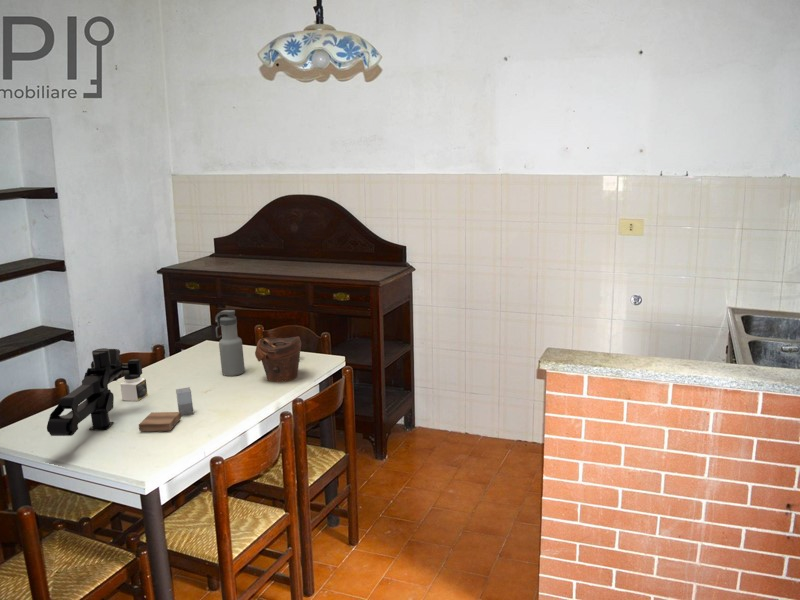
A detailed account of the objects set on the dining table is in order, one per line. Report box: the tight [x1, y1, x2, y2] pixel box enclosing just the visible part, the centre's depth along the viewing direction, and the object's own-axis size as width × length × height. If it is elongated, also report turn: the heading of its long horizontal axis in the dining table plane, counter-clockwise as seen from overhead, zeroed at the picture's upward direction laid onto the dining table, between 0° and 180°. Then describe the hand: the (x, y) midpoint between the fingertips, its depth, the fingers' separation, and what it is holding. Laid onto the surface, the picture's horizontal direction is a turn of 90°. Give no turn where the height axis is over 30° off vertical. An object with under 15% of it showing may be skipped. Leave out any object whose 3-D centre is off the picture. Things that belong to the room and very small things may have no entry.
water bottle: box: [214, 309, 245, 377], centre depth 307 cm, size 10×10×28 cm
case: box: [254, 336, 302, 383], centre depth 300 cm, size 18×20×18 cm
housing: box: [175, 386, 194, 417], centre depth 266 cm, size 5×5×9 cm
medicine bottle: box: [119, 370, 148, 402], centre depth 284 cm, size 7×7×12 cm
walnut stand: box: [138, 411, 182, 432], centre depth 255 cm, size 11×11×3 cm
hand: (126, 361), depth 278 cm, fingers open, 9 cm apart
